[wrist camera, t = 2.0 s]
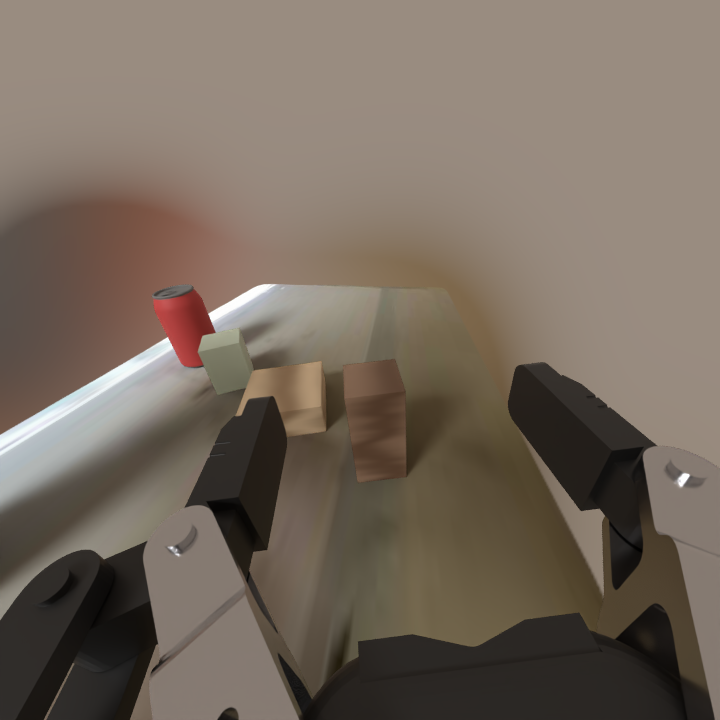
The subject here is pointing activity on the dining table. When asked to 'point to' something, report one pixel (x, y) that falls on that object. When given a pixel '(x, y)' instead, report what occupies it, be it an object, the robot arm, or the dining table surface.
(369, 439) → the walnut pillar
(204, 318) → the beer can
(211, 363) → the sage green block
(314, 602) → the dining table surface
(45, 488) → the dining table surface
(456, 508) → the dining table surface
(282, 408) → the oak base block
